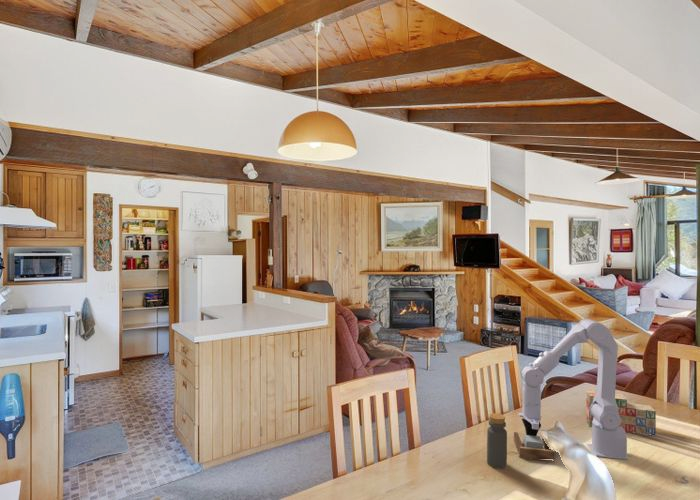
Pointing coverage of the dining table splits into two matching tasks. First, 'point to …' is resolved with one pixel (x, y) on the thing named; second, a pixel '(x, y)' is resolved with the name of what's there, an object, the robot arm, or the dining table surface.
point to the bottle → (497, 441)
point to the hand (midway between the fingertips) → (531, 441)
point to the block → (533, 441)
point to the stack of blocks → (629, 415)
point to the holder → (533, 450)
